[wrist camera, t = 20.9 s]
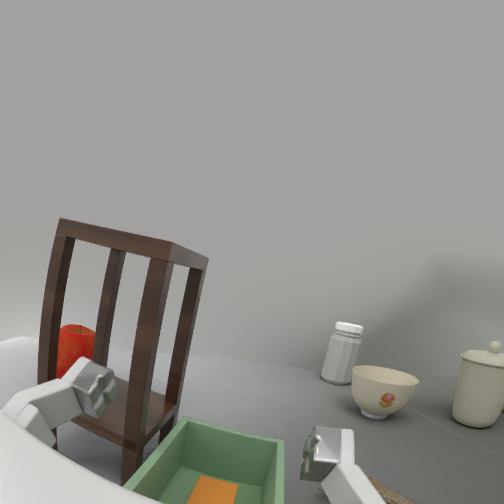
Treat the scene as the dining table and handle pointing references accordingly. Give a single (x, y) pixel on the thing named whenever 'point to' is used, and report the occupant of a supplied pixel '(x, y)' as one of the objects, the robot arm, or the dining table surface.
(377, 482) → the jawbone
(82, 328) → the apple
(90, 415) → the robot arm
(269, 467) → the bin
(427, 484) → the dining table surface
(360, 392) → the bowl
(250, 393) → the dining table surface
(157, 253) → the shelf stand
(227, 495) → the orange rectangular bar
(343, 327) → the jar
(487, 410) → the canister
